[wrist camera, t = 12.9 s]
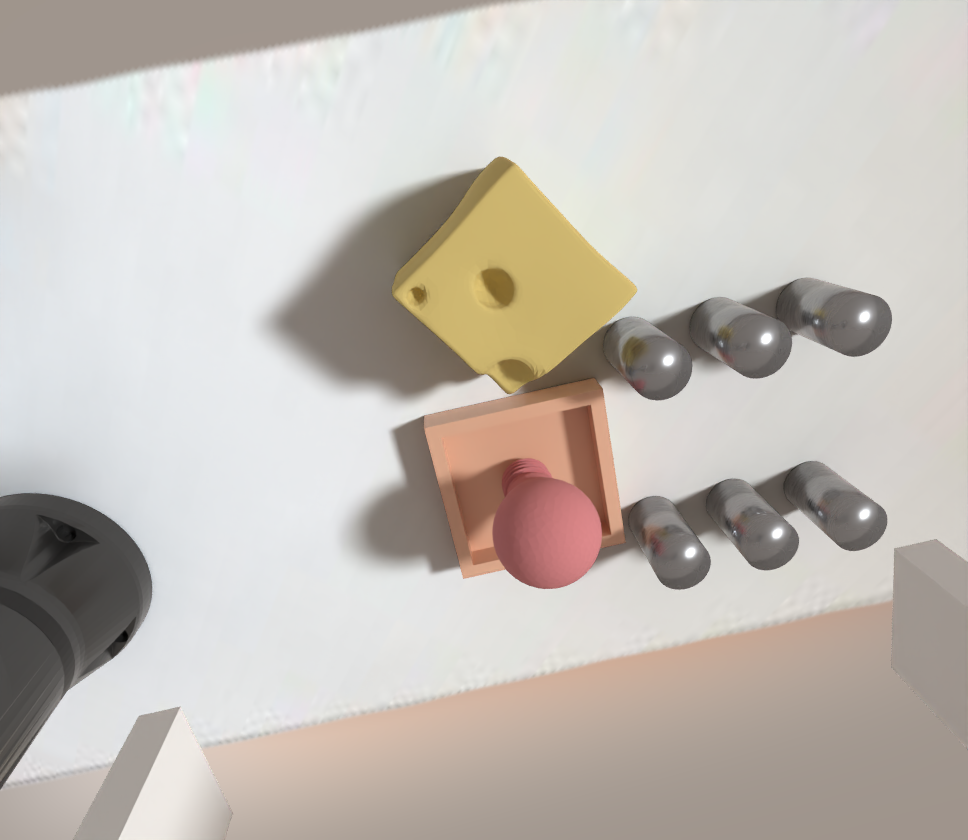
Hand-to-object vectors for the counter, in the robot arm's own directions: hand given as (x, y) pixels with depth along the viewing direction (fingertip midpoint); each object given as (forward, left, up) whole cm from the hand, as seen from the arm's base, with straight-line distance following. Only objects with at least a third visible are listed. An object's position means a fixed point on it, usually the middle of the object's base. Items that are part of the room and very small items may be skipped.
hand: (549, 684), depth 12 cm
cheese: (+3, +2, -37) cm, 37 cm away
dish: (+2, -14, -37) cm, 39 cm away
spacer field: (+18, -13, -37) cm, 43 cm away
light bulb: (+2, -14, -36) cm, 39 cm away
